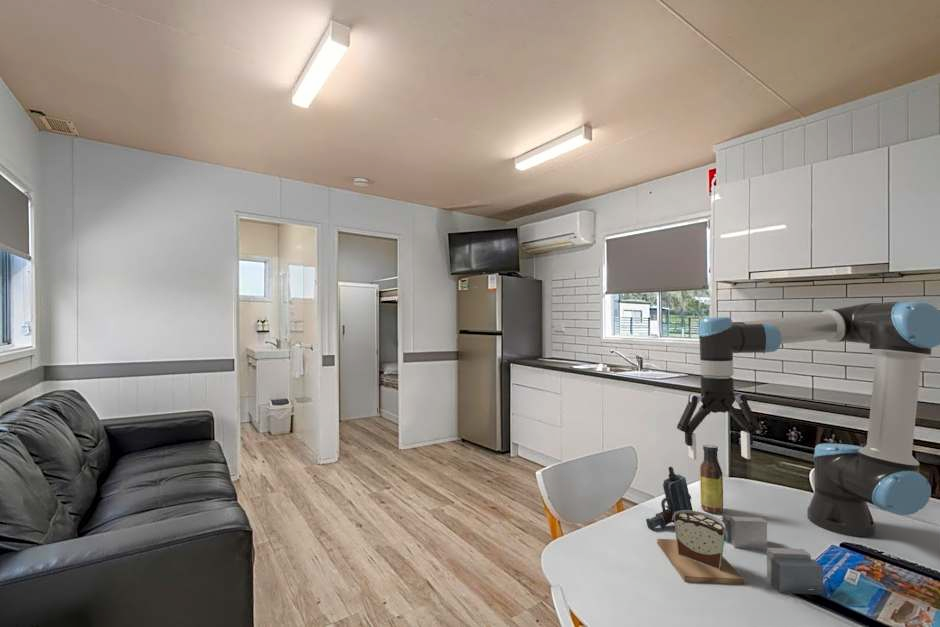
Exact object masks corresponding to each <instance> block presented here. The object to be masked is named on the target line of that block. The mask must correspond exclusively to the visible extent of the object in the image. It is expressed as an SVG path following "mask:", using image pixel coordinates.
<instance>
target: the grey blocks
mask: <svg viewBox="0 0 940 627" xmlns="http://www.w3.org/2000/svg"><path fill="white" fill-rule="evenodd" d="M719 519H720V520H721V521H722V522H724V524H725V526H726V529H727V533H728V537H727V538H726V535H725V537H724V541H725V542H727V543H728V544H731V545H732V546H733V548H734V549H735V548H736V549H758V550H759V549H760V550H766V579H767V580H768V581H769V583H770V585H771V586H772V587H773V588H774V589H775V590H776V591H778V592H777V593H779V594H794V595H795V594H796V595H797V594H798V595H799V594H800V595H814V596H815V595H818V596H823V595H824V566H822V564H820V563H818V561H817V560H815V559H813V558H812V555H811V553H809V552H808V551H807V550H805V549H804V548H787V547H786V548H785V547H784V548H783V547H779V548H778V547H768V521H767V520H765V519H764V518H762V517H758V516H752V515H749V516H748V515H746V516H745V515H724V514H723V515H722V518H719ZM808 589H814V590H808Z"/></svg>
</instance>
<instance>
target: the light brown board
mask: <svg viewBox="0 0 940 627" xmlns="http://www.w3.org/2000/svg"><path fill="white" fill-rule="evenodd" d="M656 543H657V544H656V545H658V546H659V548H660V549H661V551H662V552H663V554H664V555H665V556H666V558H667V560H669V562H670V563H671V565H672V566H673V568H674V569H675V570H676V572H677V574H678V575H679V576H680V578H681V579H682V580H683V581H684V582H685V583H687V582H688V583H690V582H691V583H710V584H711V583H712V584H732V585H735V584H736V585H745V578H744V577H743V576H742V574H740V573H739V571H737V570H736V569H735V568H734V566H733V565H732V564H731V563H730V562H729V561H728V560H727V559H726V558H725V557H724V556H723V555H722V563H721V569H720V571H719V570H717V569H714V568H711V567H709V566H706V565H703V564H701V563H698V562H695V561H693V560H690V559H688V558H685V557H682V556H680V555H678V551H677V541H676V538H674V539H672V538H657V539H656Z"/></svg>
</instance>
